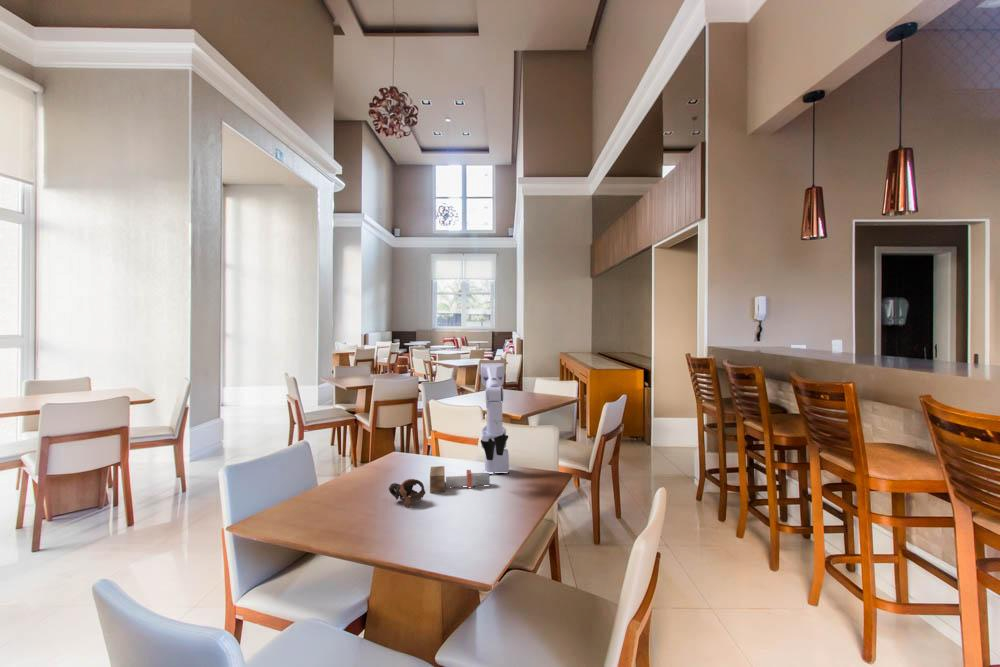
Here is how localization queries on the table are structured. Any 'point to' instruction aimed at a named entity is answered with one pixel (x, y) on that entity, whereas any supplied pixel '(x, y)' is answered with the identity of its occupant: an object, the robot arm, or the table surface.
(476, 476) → the grey and red block
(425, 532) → the table surface
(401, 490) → the brown ringed sculpture
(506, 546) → the table surface
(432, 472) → the walnut block
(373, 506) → the table surface
